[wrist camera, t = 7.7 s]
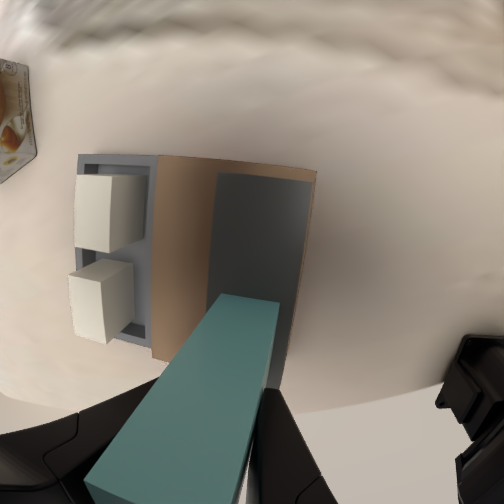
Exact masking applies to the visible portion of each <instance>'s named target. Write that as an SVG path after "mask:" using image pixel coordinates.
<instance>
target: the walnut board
mask: <svg viewBox="0 0 504 504" xmlns="http://www.w3.org/2000/svg"><path fill="white" fill-rule="evenodd" d="M217 172H228V173H239V174H249V175H258V176H267V177H275V178H284V179H291V180H299V181H306V182H313V184H312V192H311V200H310V208H309V215H308V223H307V230H306V237H305V244H304V251H303V257H302V264H301V270H300V277H299V283H298V289H297V295H296V301H295V307H294V313H293V319H294V314H295V309H296V303H297V297H298V292H299V286H300V280H301V274H302V268H303V262H304V256H305V250H306V244H307V237H308V230H309V224H310V217H311V210H312V203H313V196H314V188H315V181H316V173H317V171H313V170H306V169H299V168H292V167H284V166H277V165H268V164H260V163H251V162H242V161H232V160H221V159H209V158H196V157H181V156H164V155H158V164H157V175H156V187H155V199H154V214H153V232H152V258H151V340H152V358H155V359H158V360H162V361H166V362H171V361H172V359H173V358H174V357H175V355H176V354H177V352H178V351H179V350H180V348H181V347H182V346H183V344H184V343H185V342H186V340H187V339H188V338H189V336H190V335H191V334H192V332H193V331H194V329H195V328H196V327H197V325H198V324H199V323H200V321H201V320H202V319H203V317H204V316H205V315H206V299H207V284H208V270H209V257H210V244H211V232H212V220H213V209H214V199H215V188H216V178H217ZM293 319H292V325H293ZM292 325H291V330H292ZM291 330H290V335H291ZM289 340H290V336H289ZM288 345H289V341H288ZM287 350H288V347H287ZM286 355H287V352H286ZM285 360H286V357H285ZM284 365H285V363H284ZM283 370H284V368H283ZM282 375H283V373H282ZM281 380H282V378H281ZM280 384H281V383H280Z"/></svg>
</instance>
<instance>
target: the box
mask: <svg viewBox="0 0 504 504" xmlns="http://www.w3.org/2000/svg"><path fill="white" fill-rule="evenodd" d="M157 164H158V156H151V155H120V154H78V165H77V175H79V174H105V173H118V174H135V175H147V178H146V190H145V204H144V220H143V239H141V240H138V241H136V242H134V243H131V244H129V245H127V246H124V247H122V248H120V249H118V250H115V251H113V252H111V253H105V252H100V251H95V250H90V249H84V248H79V247H75V254H76V271H77V270H79V269H81V268H83V267H85V266H88V265H90V264H92V263H94V262H96V261H98V260H100V259H103V258H104V259H110V260H116V261H122V262H128V263H133V268H134V304H135V319H134V320H133V321H131V322H130V323H129V324H128V325H127V326H126V327H125V328H124V329H123V330H122V331H120V332H119V333H118V334H117V335H116V336H115V337H114V338H116V339H119V340H123V341H126V342H130V343H133V344H137V345H141V346H144V347H148V348H152V340H151V258H152V232H153V214H154V199H155V187H156V175H157Z"/></svg>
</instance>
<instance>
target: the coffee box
mask: <svg viewBox="0 0 504 504" xmlns="http://www.w3.org/2000/svg"><path fill="white" fill-rule="evenodd" d="M35 155H36V149H35V143H34V135H33V127H32V119H31V110H30V99H29V83H28V67H27V66H25V65H22V64H19V63H15V62H11V61H8V60H4V59H0V184H1V183H2V182H3V181H5V180H6V179H7V178H8V177H10V176H11V175H12V174H13V173H15V172H16V171H17V170H19V169H20V168H21V167H22V166H24V165H25V164H26V163H28V162H29V161H30V160H32V159H33V158H34V157H35Z"/></svg>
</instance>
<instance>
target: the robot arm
mask: <svg viewBox="0 0 504 504" xmlns="http://www.w3.org/2000/svg"><path fill="white" fill-rule="evenodd" d="M468 341H470V342H469V343H468V344H467V342H468ZM158 378H159V377H158ZM158 378H156V379H153V380H151V381H149V382H147V383H145V384H142V385H140V386H138V387H136V388H134V389H131V390H129V391H127V392H125V393H122V394H120V395H118V396H115V397H113V398H111V399H108V400H106V401H104V402H101V403H99V404H97V405H94V406H92V407H89V408H87V409H84V410H82V411H80V412H79V413H74V414H72V415H69V416H67V417H64V418H61V419H58V420H55V421H52V422H50V423H46V424H43V425H39V426H36V427H32V428H28V429H23V430H19V431H15V432H10V433H6V434H1V435H0V504H95V502H94V500H93V498H92V496H91V494H90V492H89V490H88V488H87V486H86V484H85V482H84V479H85V477H86V476H87V475H88V473H89V472H90V470H91V469H92V468H93V466H94V465H95V464H96V462H97V461H98V460H99V458H100V457H101V456H102V454H103V453H104V451H105V450H106V449H107V447H108V446H109V445H110V443H111V442H112V441H113V439H114V438H115V437H116V435H117V434H118V432H119V431H120V430H121V428H122V427H123V426H124V424H125V423H126V422H127V420H128V419H129V418H130V416H131V415H132V413H133V412H134V411H135V409H136V408H137V407H138V405H139V404H140V403H141V401H142V400H143V399H144V397H145V396H146V395H147V393H148V392H149V390H150V389H151V388H152V386H153V385H154V384H155V382H156V381H157V380H158ZM435 405H436V407H437V408H439V409H442V408H451V410H452V412H453V413H454V415H455V417H456V419H457V421H458V423H459V424H463V426H464V428H465V430H466V432H467V434H468V436H469V438H470V440H471V441H472V442H473V441H474V442H473V443H472V444H471V445H470V446H469V447H468V448H467V450H465V451H464V452H463V453H461V454H460V455H459V456H458V457H457V458H455V463H456V473H457V487H458V500H459V504H504V336H481V335H467V336H465V337H464V338H463V340H462V342H461V345H460V348H459V350H458V353H457V355H456V357H455V360H454V362H453V364H452V366H451V369H450V371H449V373H448V375H447V378H446V380H445V382H444V384H443V386H442V389H441V391H440V393H439V395H438V397H437V399H436V401H435ZM246 504H338V503H337V501H336V499H335V498H334V496H333V494H332V492H331V491H330V489H329V487H328V485H327V483H326V481H325V479H324V478H323V476H321V472H320V470H319V468H318V466H317V464H316V462H315V460H314V458H313V456H312V454H311V452H310V450H309V448H308V446H307V445H306V442H305V440H304V438H303V436H302V434H301V432H300V430H299V428H298V426H297V424H296V422H295V420H294V418H293V416H292V414H291V412H290V410H289V408H288V406H287V404H286V402H285V400H284V398H283V396H282V394H281V392H280V390H279V389H274V388H267V387H266V388H264V390H263V394H262V398H261V402H260V406H259V410H258V416H257V421H256V427H255V433H254V438H253V444H252V449H251V455H250V461H249V469H248V481H247V494H246Z"/></svg>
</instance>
